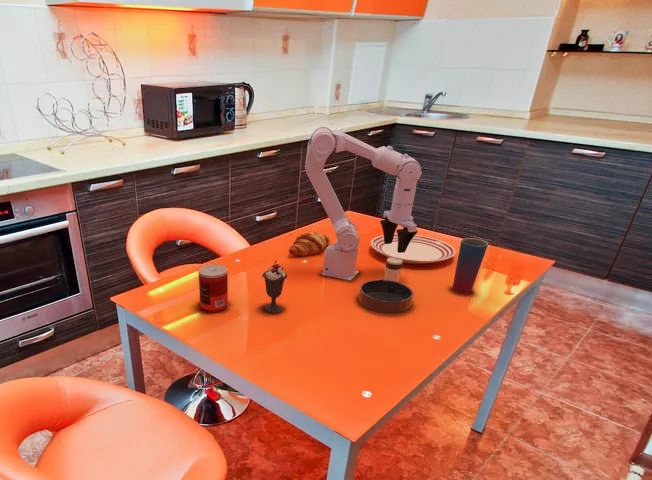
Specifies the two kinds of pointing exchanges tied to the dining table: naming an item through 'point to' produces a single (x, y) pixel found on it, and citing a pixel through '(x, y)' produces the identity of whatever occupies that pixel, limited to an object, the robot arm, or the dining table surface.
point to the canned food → (213, 287)
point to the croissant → (309, 244)
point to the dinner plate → (415, 249)
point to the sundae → (274, 286)
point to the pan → (385, 296)
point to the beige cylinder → (393, 269)
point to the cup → (468, 264)
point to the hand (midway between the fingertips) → (394, 247)
